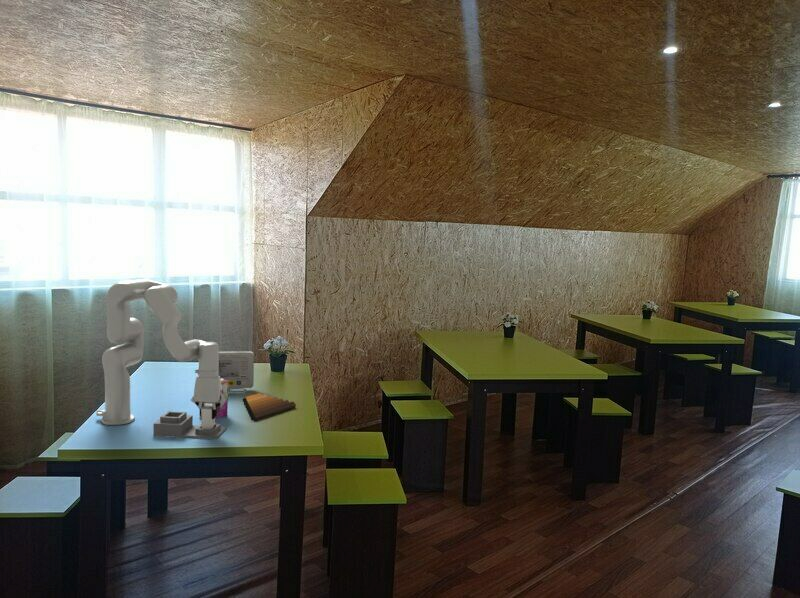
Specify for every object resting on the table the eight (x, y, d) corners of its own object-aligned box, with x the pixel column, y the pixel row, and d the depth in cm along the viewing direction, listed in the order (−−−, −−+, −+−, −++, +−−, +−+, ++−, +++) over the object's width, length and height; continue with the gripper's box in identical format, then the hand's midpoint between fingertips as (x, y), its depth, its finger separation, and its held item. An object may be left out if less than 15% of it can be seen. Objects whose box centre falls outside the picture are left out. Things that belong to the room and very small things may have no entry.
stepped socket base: (153, 435, 230) (153, 418, 230) (166, 425, 242) (166, 409, 242) (216, 439, 230) (216, 421, 229) (226, 428, 242) (226, 412, 241)
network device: (253, 388, 303) (253, 350, 301) (253, 393, 295) (254, 354, 293) (201, 389, 297) (201, 350, 294) (199, 394, 288) (200, 354, 286)
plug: (201, 428, 235) (201, 407, 233) (205, 424, 238) (204, 403, 236) (211, 429, 235) (211, 408, 232) (215, 424, 238) (214, 404, 236)
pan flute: (255, 422, 253) (295, 409, 274) (256, 414, 253) (296, 402, 274) (216, 410, 267) (257, 398, 287) (217, 403, 266) (258, 392, 287)
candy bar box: (205, 422, 249) (206, 384, 247) (199, 419, 252) (199, 382, 250) (228, 416, 258) (228, 379, 256) (221, 413, 261) (222, 377, 259)
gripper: (184, 374, 230) (183, 419, 232) (226, 376, 229) (225, 422, 232) (191, 370, 237) (191, 413, 239) (232, 372, 237) (231, 416, 239)
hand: (208, 417), depth 235 cm, fingers closed on plug, 3 cm apart
